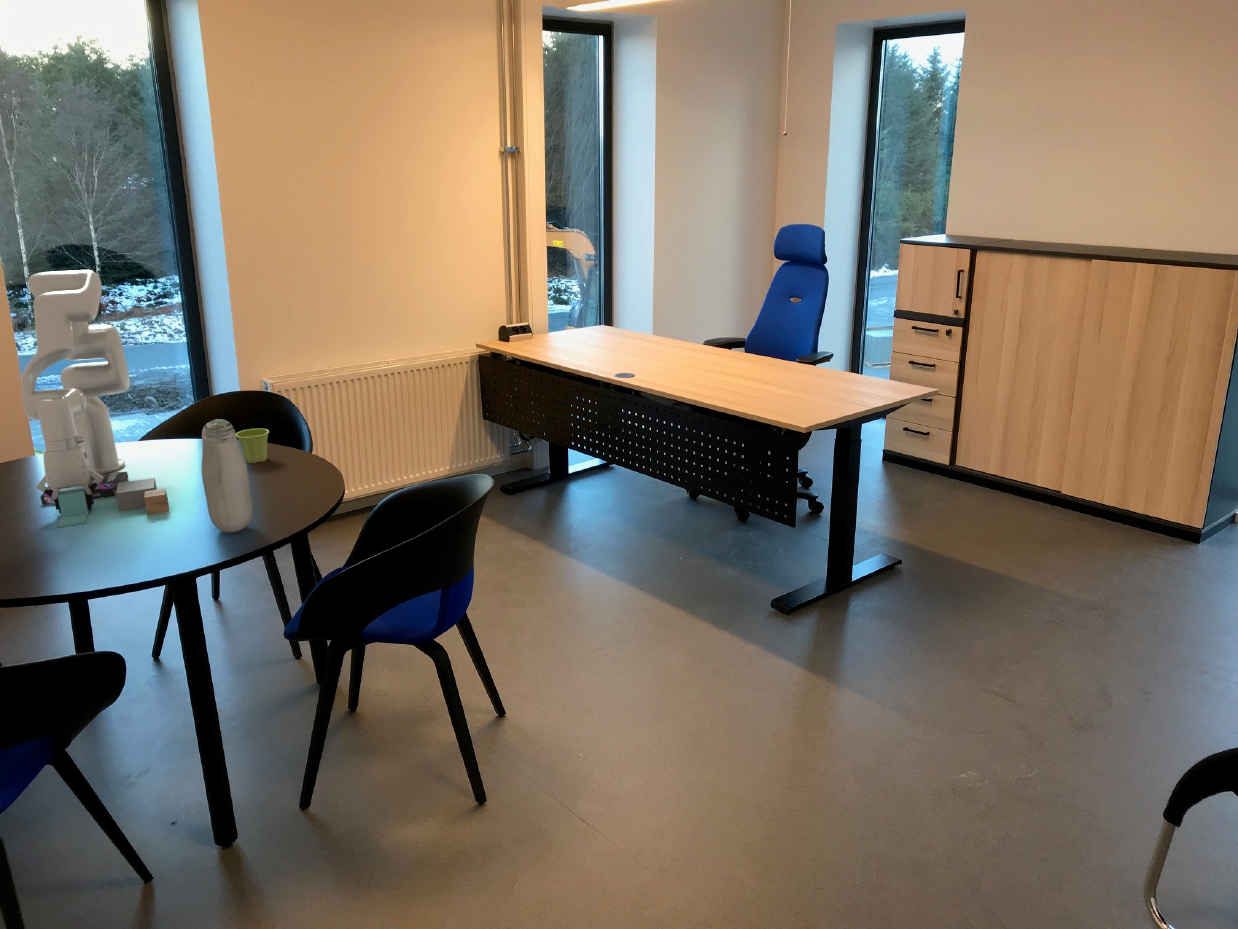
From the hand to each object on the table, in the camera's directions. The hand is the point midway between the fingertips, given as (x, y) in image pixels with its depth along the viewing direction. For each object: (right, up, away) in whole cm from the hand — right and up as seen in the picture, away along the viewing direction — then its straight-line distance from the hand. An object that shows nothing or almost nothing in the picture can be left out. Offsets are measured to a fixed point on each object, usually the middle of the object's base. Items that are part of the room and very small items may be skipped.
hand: (75, 509), depth 260 cm
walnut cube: (+22, 0, 0) cm, 22 cm away
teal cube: (0, -1, 0) cm, 1 cm away
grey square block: (+14, +1, +5) cm, 15 cm away
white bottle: (+47, -5, -15) cm, 50 cm away
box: (-5, +3, +15) cm, 17 cm away
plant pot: (+33, +13, +38) cm, 52 cm away
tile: (+3, -3, -6) cm, 8 cm away
